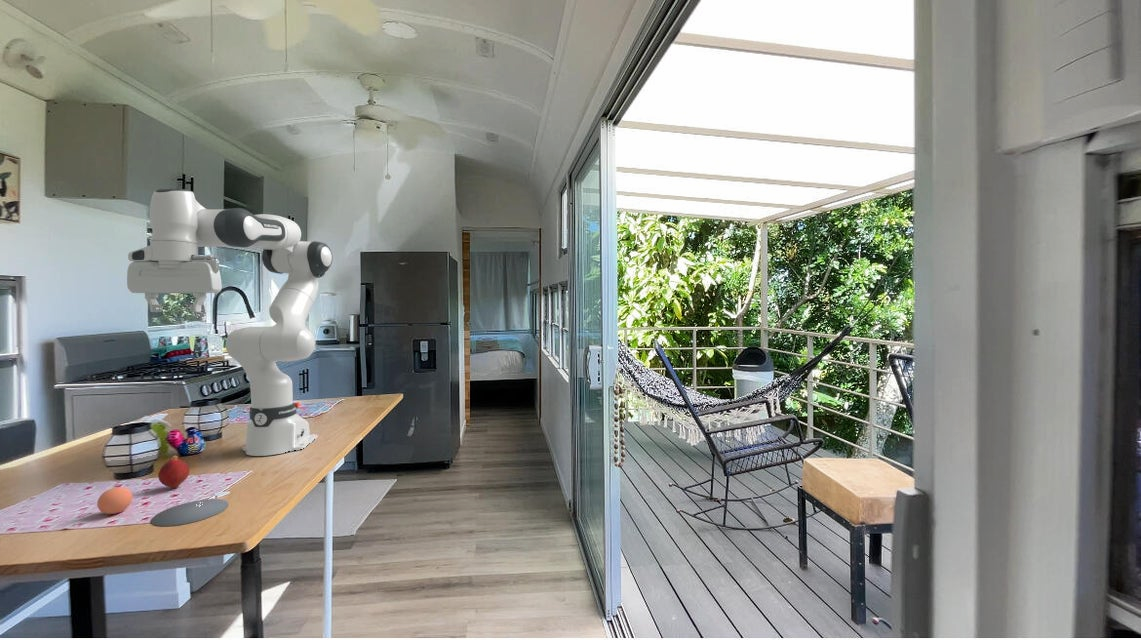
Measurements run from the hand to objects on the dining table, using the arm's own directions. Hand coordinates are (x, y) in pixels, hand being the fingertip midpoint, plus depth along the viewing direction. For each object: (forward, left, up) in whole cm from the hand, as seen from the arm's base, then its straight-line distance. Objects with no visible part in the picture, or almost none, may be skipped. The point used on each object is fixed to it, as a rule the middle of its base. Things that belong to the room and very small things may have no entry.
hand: (176, 312), depth 112 cm
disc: (+12, +13, -44) cm, 47 cm away
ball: (+12, -4, -41) cm, 43 cm away
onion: (-2, -3, -44) cm, 44 cm away
